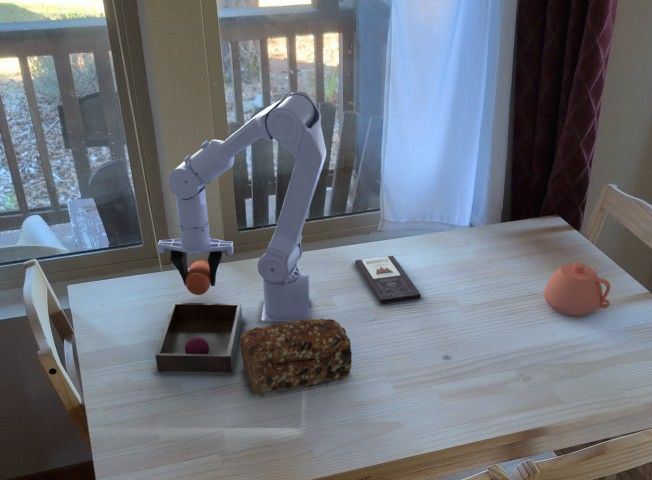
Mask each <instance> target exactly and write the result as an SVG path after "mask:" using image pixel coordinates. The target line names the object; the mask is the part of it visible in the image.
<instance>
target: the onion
mask: <svg viewBox="0 0 652 480" xmlns="http://www.w3.org/2000/svg"><path fill="white" fill-rule="evenodd" d="M185 352H186V354H208V353H209V345H208V343H207V341H206V340H204V339H203V338H201V337H193V338H191V339H189V340H188V341H187V343H186V345H185Z"/></svg>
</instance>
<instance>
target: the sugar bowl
mask: <svg viewBox="0 0 652 480" xmlns="http://www.w3.org/2000/svg"><path fill="white" fill-rule="evenodd" d="M602 284H603V285H604V286H605V291H604V294H603V287H602ZM610 292H611V283H610V282H609V281H608V280H607V279H605V278H603V277H599V276H598V275H597V272H596V270H594V268H592V267H591V266H588V265H586V264H584V263H582V262H577V261H576V262H570V263H566V264H563V265H562V266H560V267H559V268H558V269H557V270H556V271H555V272H554V273H553V274H552V275H551V277H550V278H549V279H548V281H547V283H546V285H545V287H544V291H543V296H544V300H545V301H546V303H547V304H548V305H549V307H550V309H551V310H553V311H555V312H557V313H559V314H562V315H564V316H565V315H566V316H569V317H570V316H571V317H576V318H583V317H585V316H589V315H590V314H592V313H594V312H595V311H597V310H598V309H599V308H601V309H607V308H609V307H610V300H609V299H608V298H607V297H608V295H609V293H610ZM606 298H607V299H606Z"/></svg>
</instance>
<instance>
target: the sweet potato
mask: <svg viewBox="0 0 652 480" xmlns="http://www.w3.org/2000/svg"><path fill="white" fill-rule="evenodd" d="M210 286H211V281H210V269H209V263H208V261H206V260H201V259H200V260H196V261H194V262H193V263H191V265H190V266H189V268H188V275H187V278H186V286H185V287H186V289H187V290H188V292H189V293H190V294H192V295H195V296H201V295H204V294H205V293H207V292H208V291H209V290H210Z"/></svg>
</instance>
